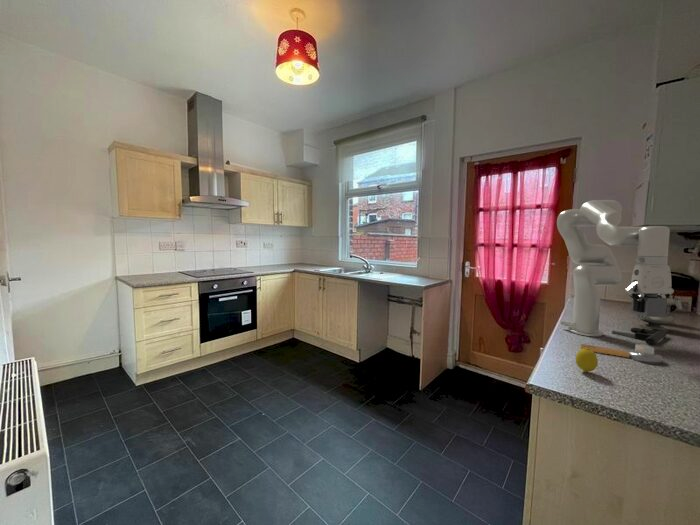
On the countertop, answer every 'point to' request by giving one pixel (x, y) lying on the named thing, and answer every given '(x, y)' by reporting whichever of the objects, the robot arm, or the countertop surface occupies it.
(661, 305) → the socket
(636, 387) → the countertop surface
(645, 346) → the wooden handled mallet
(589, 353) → the lemon
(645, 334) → the door handle
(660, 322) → the apothecary jar
